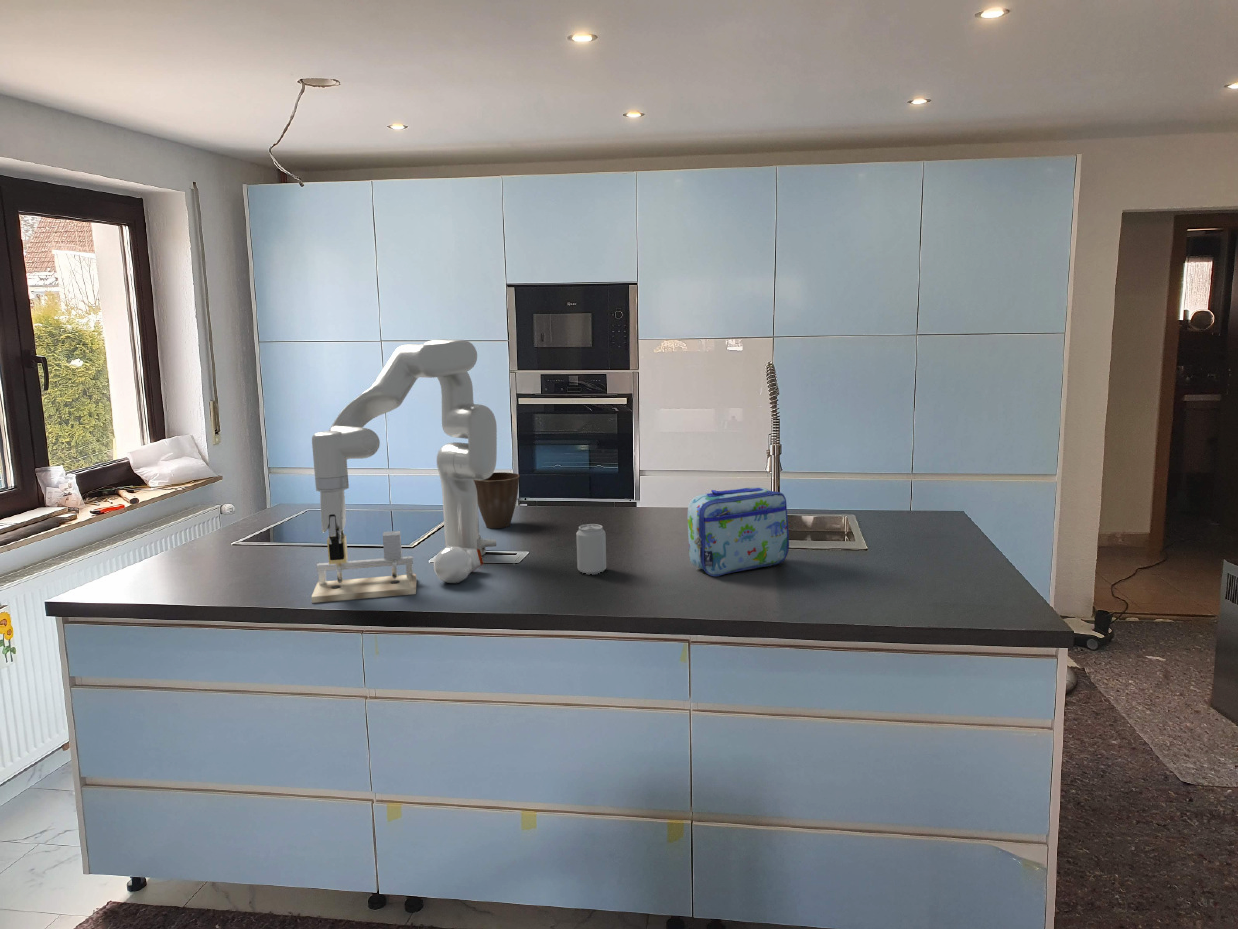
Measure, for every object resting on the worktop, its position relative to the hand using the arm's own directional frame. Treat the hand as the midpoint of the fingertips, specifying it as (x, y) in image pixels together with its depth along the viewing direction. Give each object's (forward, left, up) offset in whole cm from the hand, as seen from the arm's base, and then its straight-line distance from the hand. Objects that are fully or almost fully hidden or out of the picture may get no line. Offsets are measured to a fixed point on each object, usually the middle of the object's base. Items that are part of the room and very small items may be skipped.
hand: (338, 556), depth 213 cm
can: (-62, 0, -9) cm, 63 cm away
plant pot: (-42, -57, -9) cm, 72 cm away
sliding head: (0, -2, -7) cm, 7 cm away
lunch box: (-99, +8, -10) cm, 100 cm away
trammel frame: (-6, -2, -8) cm, 10 cm away
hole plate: (-6, 0, -9) cm, 11 cm away
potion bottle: (-28, -4, -10) cm, 30 cm away
